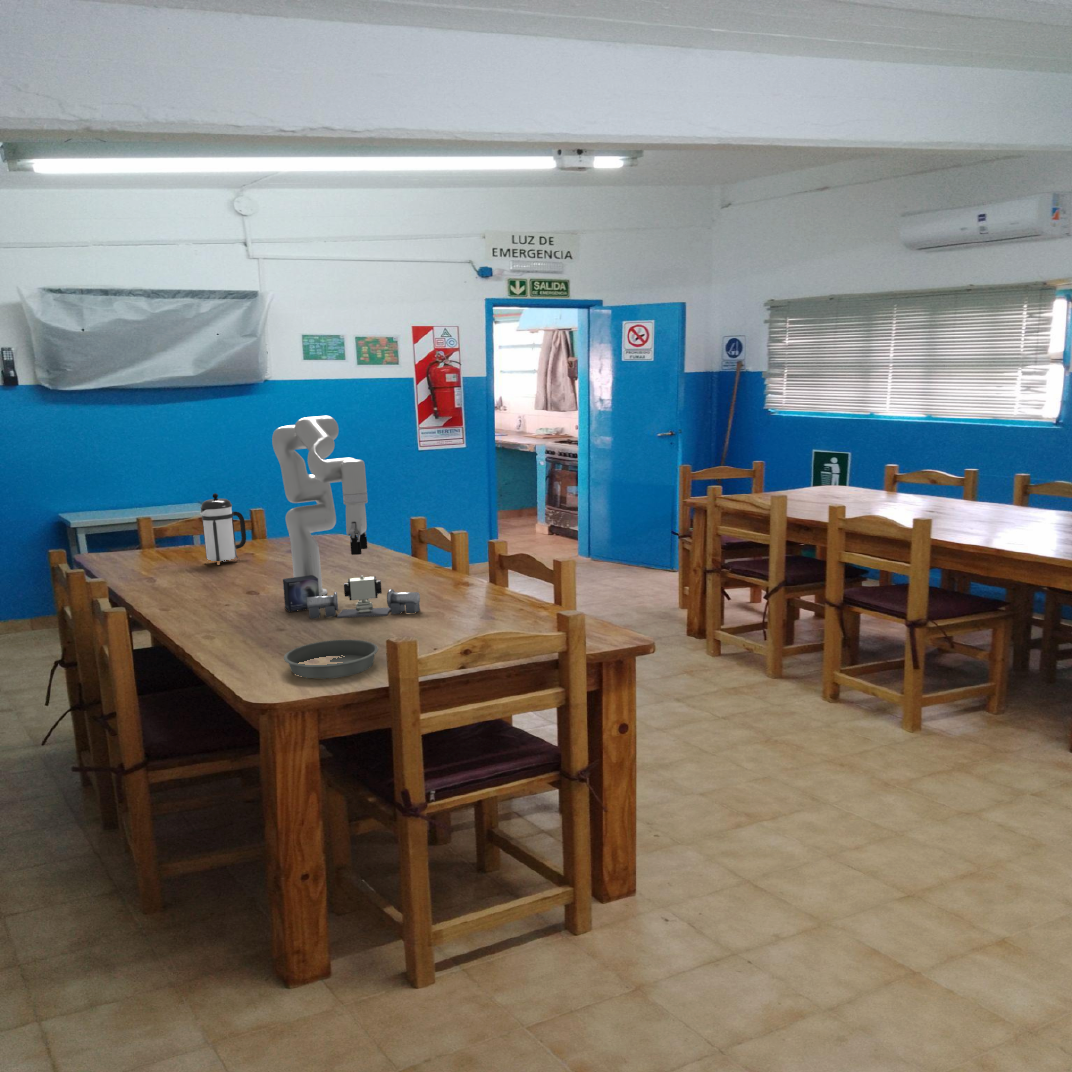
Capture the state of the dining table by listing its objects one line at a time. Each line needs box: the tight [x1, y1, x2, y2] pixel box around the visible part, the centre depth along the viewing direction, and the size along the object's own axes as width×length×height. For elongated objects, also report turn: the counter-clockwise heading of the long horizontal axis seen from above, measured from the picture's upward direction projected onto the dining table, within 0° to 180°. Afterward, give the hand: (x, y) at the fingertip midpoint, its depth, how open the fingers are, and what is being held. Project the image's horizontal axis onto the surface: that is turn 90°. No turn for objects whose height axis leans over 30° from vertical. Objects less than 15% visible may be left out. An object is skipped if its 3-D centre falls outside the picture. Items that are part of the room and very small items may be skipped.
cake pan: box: [283, 639, 379, 680], centre depth 273 cm, size 25×25×4 cm
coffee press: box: [199, 492, 247, 562], centre depth 439 cm, size 17×16×30 cm
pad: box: [336, 606, 391, 619], centre depth 333 cm, size 16×9×1 cm, turn 88°
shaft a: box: [307, 591, 339, 619], centre depth 332 cm, size 9×6×8 cm, turn 98°
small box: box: [282, 575, 319, 613], centre depth 344 cm, size 11×6×10 cm, turn 118°
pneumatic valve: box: [343, 574, 382, 613], centre depth 332 cm, size 6×12×12 cm, turn 100°
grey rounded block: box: [386, 588, 421, 615], centre depth 331 cm, size 9×6×8 cm, turn 78°
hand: (359, 551), depth 330 cm, fingers open, 9 cm apart
